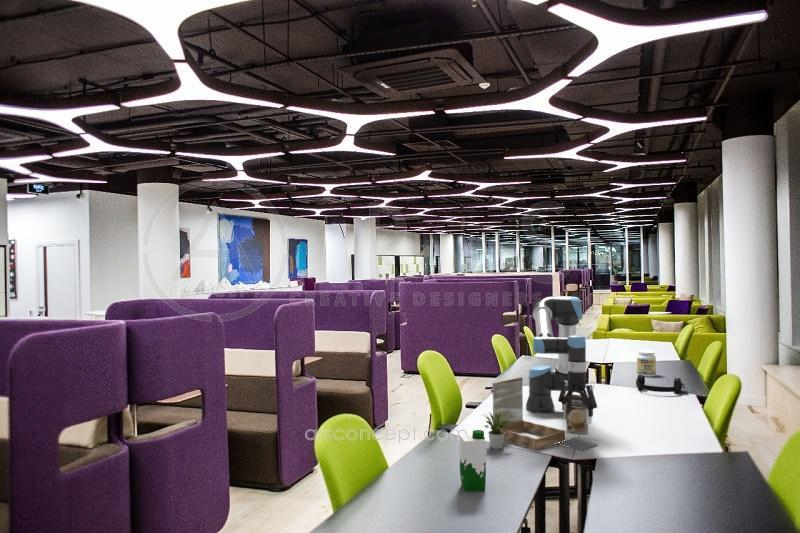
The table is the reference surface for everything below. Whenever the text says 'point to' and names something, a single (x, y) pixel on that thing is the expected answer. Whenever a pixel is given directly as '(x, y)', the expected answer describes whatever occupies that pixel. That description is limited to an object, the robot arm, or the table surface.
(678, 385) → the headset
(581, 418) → the coffee box
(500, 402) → the frame
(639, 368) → the supplement tub
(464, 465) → the milk carton
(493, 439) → the house plant
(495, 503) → the table surface
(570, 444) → the mat
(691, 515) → the table surface
